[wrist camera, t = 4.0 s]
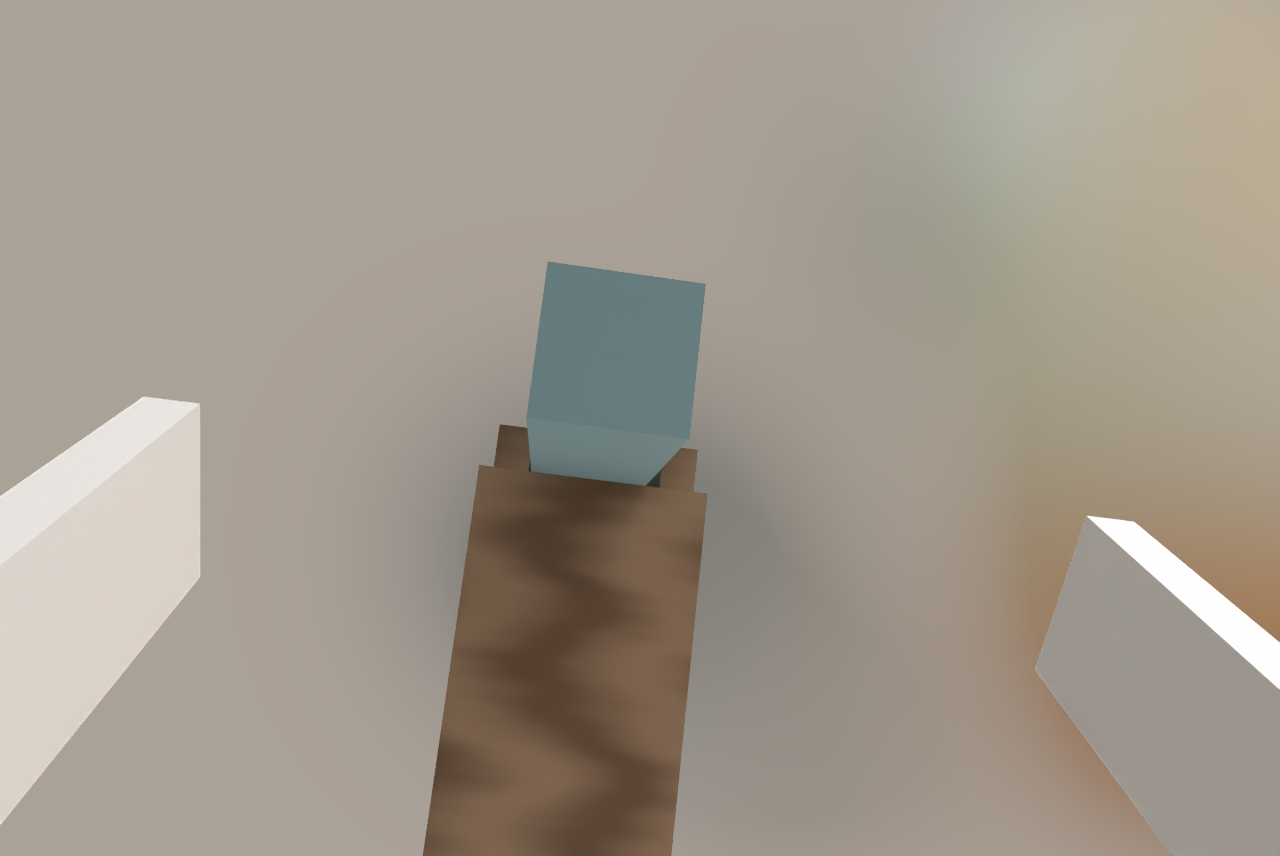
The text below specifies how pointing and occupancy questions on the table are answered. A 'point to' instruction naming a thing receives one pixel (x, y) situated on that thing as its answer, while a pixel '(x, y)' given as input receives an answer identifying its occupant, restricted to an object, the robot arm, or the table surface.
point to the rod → (612, 373)
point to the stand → (569, 663)
